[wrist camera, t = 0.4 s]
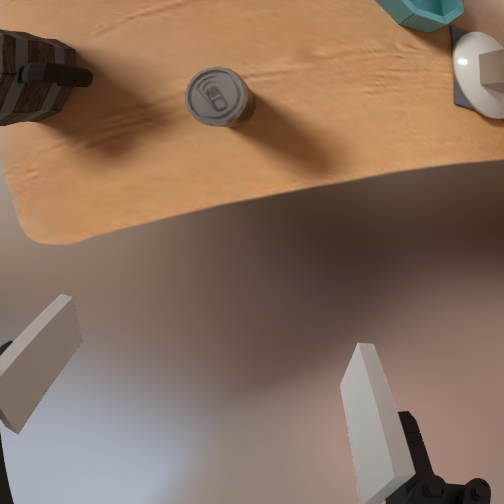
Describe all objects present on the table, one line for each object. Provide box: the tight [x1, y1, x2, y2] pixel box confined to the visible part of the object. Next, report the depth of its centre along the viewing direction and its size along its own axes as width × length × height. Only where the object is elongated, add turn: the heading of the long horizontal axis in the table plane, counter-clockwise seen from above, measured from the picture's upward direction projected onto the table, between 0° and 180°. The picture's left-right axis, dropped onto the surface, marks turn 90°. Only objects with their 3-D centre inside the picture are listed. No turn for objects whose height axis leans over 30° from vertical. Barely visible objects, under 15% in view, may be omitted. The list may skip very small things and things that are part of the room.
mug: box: [0, 29, 93, 126], centre depth 25 cm, size 20×14×15 cm
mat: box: [450, 25, 504, 120], centre depth 27 cm, size 12×12×1 cm
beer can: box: [185, 67, 255, 127], centre depth 28 cm, size 5×5×12 cm
